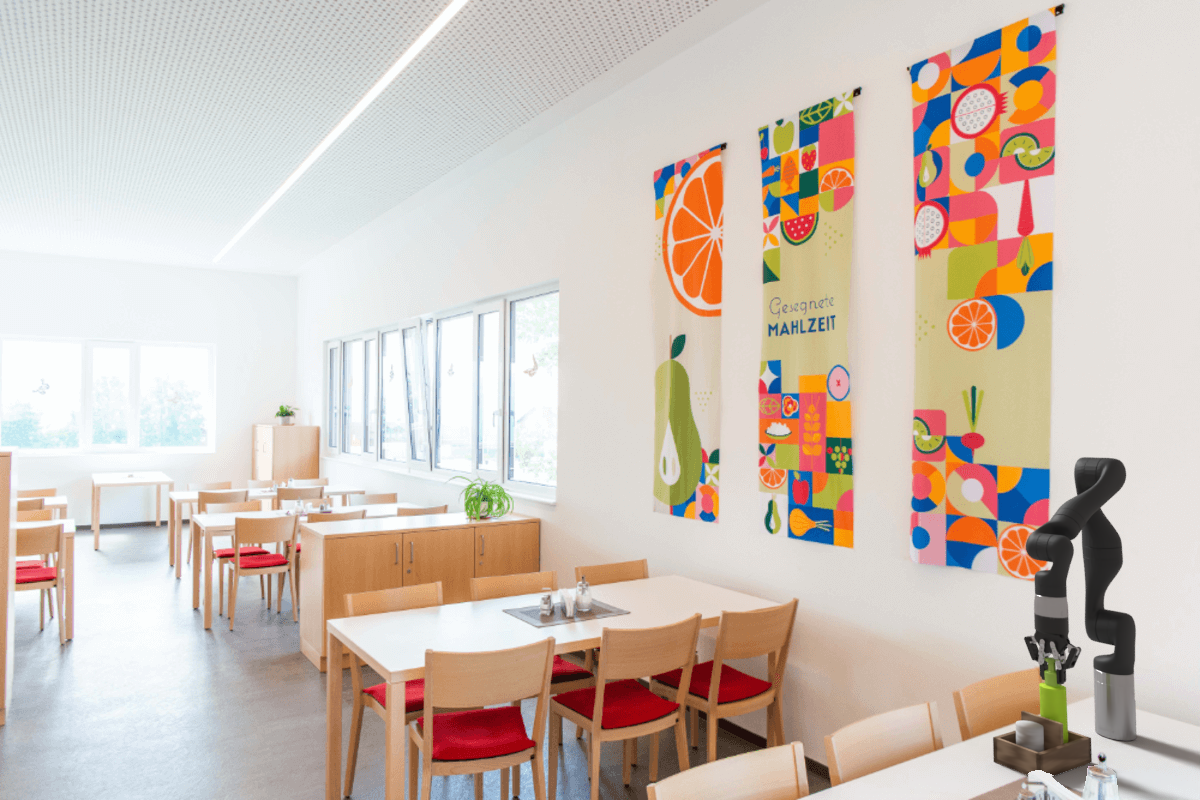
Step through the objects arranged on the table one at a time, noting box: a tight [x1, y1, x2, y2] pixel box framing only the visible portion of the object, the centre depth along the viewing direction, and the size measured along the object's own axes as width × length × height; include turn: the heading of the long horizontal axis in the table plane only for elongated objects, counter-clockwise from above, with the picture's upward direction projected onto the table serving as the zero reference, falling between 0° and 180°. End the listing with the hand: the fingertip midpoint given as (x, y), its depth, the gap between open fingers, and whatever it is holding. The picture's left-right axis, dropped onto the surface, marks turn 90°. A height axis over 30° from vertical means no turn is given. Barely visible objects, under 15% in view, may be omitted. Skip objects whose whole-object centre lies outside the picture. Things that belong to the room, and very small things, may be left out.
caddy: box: [992, 710, 1093, 777], centre depth 191 cm, size 12×21×11 cm, turn 119°
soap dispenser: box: [1038, 656, 1069, 743], centre depth 194 cm, size 6×7×20 cm
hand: (1052, 681), depth 194 cm, fingers closed on soap dispenser, 3 cm apart
